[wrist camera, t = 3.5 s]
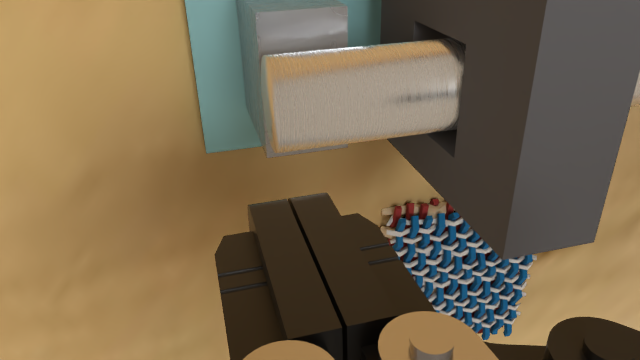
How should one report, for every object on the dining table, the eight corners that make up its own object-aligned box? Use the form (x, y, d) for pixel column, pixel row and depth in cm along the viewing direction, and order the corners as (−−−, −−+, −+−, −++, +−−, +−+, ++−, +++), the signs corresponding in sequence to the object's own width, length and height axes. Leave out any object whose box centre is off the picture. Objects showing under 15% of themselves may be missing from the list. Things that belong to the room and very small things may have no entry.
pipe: (246, 107, 23) (283, 199, 16) (234, -12, 21) (272, 33, 14) (655, 60, 28) (830, 115, 21) (684, -41, 26) (892, -19, 18)
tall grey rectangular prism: (377, 129, 23) (502, 259, 15) (382, -42, 20) (547, -1, 11) (439, 121, 24) (593, 242, 15) (454, -46, 21) (661, -10, 12)
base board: (205, 144, 25) (206, 154, 24) (175, -66, 20) (175, -65, 19) (661, 87, 30) (677, 93, 29) (712, -88, 26) (733, -88, 25)
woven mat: (538, 181, 32) (560, 198, 30) (502, 316, 37) (519, 337, 35) (377, 195, 29) (391, 214, 27) (361, 338, 34) (371, 361, 32)
